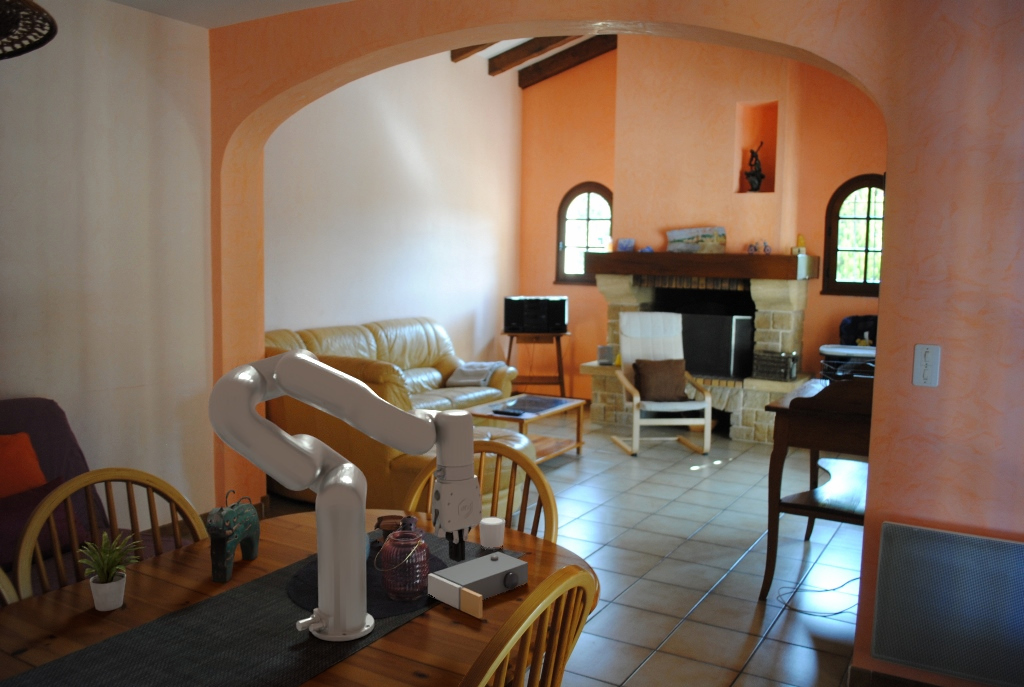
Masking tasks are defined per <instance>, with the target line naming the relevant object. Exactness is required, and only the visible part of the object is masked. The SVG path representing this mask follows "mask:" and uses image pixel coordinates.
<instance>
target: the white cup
mask: <svg viewBox="0 0 1024 687" xmlns="http://www.w3.org/2000/svg"><path fill="white" fill-rule="evenodd" d="M478 527H479V528H478V529H479V538H480V540H479V541H480V546H481V545H482V546H484V547H487V548H488V547H490V548H493V547H500V546H502V545H503V546H504V538H505V529H506V520H505V518H502V517H500V516H485V517H482V520H481V521H480V522H479V523H478Z"/></svg>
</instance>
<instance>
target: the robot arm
mask: <svg viewBox="0 0 1024 687" xmlns="http://www.w3.org/2000/svg"><path fill="white" fill-rule="evenodd" d="M283 396H289V397H290V398H292V399H295V400H298V401H300V402H302V403H304V404H306V405H309V406H310V407H313V408H315V409H317V410H320V411H321V412H324V413H326V414H328V415H330V416H332V417H335V418H337V419H339V420H341V421H343V422H345V423H346V424H347V425H349V426H350V427H352V428H353V429H355V430H358V431H359V432H361V433H363V434H364V435H366V436H368V437H369V438H371V439H373V440H375V441H377V442H378V443H380V444H383V445H385V446H387V447H389V448H392V449H394V450H396V451H398V452H401V453H403V454H406V455H409V456H422V455H426V454H427V453H428V452H430V451H431V450H432V448H433V447H434V446H436V447H435V448H436V449H435V450H436V453H435V454H436V470H433V473H432V474H433V477H434V478H436V479H435V480H434V484H433V491H432V501H431V523H432V526H433V527H434V528H435V529H434V533H433V536H435V537H437V538H444V539H445V540H446V541H447V542H448V556H449V557H448V558H449V560H452V561H454V562H457V563H460V562H462V561H463V562H464V561H465V560H466V541H467V540H468V538H469V533H470V532H471V530H473V529H474V528H475V527H477V526H479V522H480V521H481V520H482V518H483V505H482V504H483V502H482V494H481V493H482V492H481V486H480V483H479V482H480V481H479V479H478V476H477V475H476V474H475V452H474V451H475V450H474V449H475V448H474V447H475V446H474V416H473V414H472V413H471V412H470V411H468V410H466V409H465V410H464V409H446V410H431V409H423V408H413V409H409V410H407V411H405V410H403V409H402V408H399V407H397V406H395V405H393V404H391V403H390V402H388V401H387V400H385V399H383V398H381V397H380V396H379V395H377V393H375V392H374V391H373V390H372V389H371V388H370V387H369V385H367V384H366V383H364V381H362V380H360V379H358V378H356V377H354V376H351V375H350V374H347V373H345V372H343V371H341V370H339V369H336V368H334V367H332V366H330V365H328V364H326V363H324V362H321V361H320V360H319V358H318V356H317V355H316V354H314V353H313V352H312V351H310V350H307V349H305V348H304V349H303V348H295V349H291V350H289V351H285V352H282V353H280V354H279V353H278V354H276V355H273V356H269V357H266V358H262V359H259V360H256V361H252V362H248V363H245V364H241V365H239V366H236V367H234V368H232V369H231V370H230V371H228V372H226V373H224V374H223V375H222V376H221V377H220V378H219V379H217V381H216V382H215V383H214V385H213V387H212V389H211V392H210V395H209V398H208V406H207V407H208V408H207V410H208V413H207V414H208V418H209V423H210V425H211V428H212V430H213V431H214V433H215V434H216V435H217V437H218V439H220V440H221V441H222V442H223V443H224V444H225V445H227V446H228V447H229V448H230V449H231V450H233V451H235V452H236V453H238V454H239V455H240V456H242V457H243V458H244V459H246V460H247V461H249V462H250V463H251V464H253V465H254V466H255V467H256V468H258V469H259V470H261V471H262V472H263V473H265V474H266V475H268V476H269V477H271V478H272V479H273V480H275V481H276V482H278V483H279V484H280V485H282V486H283V488H286V489H288V490H290V491H296V492H299V491H305V490H306V489H309V490H311V491H313V493H315V494H316V499H315V508H314V509H315V511H314V512H315V523H316V543H317V544H316V545H317V546H316V548H317V549H316V550H317V553H316V554H317V588H318V589H317V593H318V594H317V596H318V599H317V600H318V603H317V604H318V607H316V608H314V609H313V614H311V615H310V616H309V617H307V618H304V619H299V620H296V624H295V626H296V629H297V630H298V632H301V631H304V630H306V629H309V630H308V631H310V632H311V634H312V635H313V636H314V637H316V638H317V639H320V640H323V641H329V642H346V641H352V640H357V639H359V638H362V637H364V636H367V635H368V634H369V633H371V632H372V631H373V629H374V628H375V619H374V618H375V617H373V615H371V614H370V613H368V612H367V610H368V609H367V548H366V547H367V538H366V537H367V536H366V534H367V533H366V504H367V503H366V502H367V491H368V482H367V478H366V476H365V475H364V473H363V471H361V469H360V468H359V467H358V466H356V464H354V463H352V461H349V460H348V459H347V458H346V457H344V456H343V455H342V454H340V453H339V452H337V451H336V450H334V449H333V448H331V446H329V445H327V443H325V442H323V441H321V440H320V439H318V438H317V437H314V436H313V435H309V434H304V433H298V434H294V435H290V434H289V433H287V432H286V431H284V430H283V429H282V428H281V427H279V426H278V425H277V424H276V423H274V422H272V421H270V420H269V419H267V418H266V417H264V416H263V415H262V416H261V414H260V413H258V411H257V409H256V406H257V405H258V404H260V403H264V402H266V401H269V400H273V399H277V398H279V397H283Z"/></svg>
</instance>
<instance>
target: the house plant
mask: <svg viewBox="0 0 1024 687" xmlns="http://www.w3.org/2000/svg"><path fill="white" fill-rule="evenodd" d="M123 532H124V530H122V531H121V532H119V534H118V536H117V537H116V538H115V539H114V541H113V542H112V544H111V540H110V538H109V537H108V532H107V531H104V530H103V532H102V540H101V546H100V547H101V548H99V547H98V546H97V545H96V543H95V544H94V543H91V542H88V541H86V540H84V541H83V542H84V543H85V544H86V545H87V547H88V548H87V547H86V546H83V545H82V546H81V547H82V548H84V550H83V549H78V551H77V553H79V552H82V553H84V554H85V555H86V556H87V557H89V558H90V559H91V560H92V561H91V560H90V559H88V558H83V559H82V558H81V559H79V560H78V561H77V562H78V563H82V564H85V565H88V566H90V567H92V568H86V569H85V571H84V574H83V575H84V578H86V577H88V576H89V575H91V574H96V575H93V576H92V577H90V579H89V584H90V585H89V586H90V589H91V593H92V597H93V601H94V602H93V603H94V607H95V610H97V611H99V612H110V611H114V610H117V609H119V608H121V607H122V606H123V602H124V596H125V588H126V587H125V586H126V581H127V580H126V579H127V574H126V565H129V564H132V563H141V562H140V561H138V560H137V559H140V557H141V555H136V556H134V555H129V556H125V555H127V554H129V553H131V552H133V551H136V550H138V549H144V548H146V546H141V547H136V546H138V545H135V544H136V543H139V542H142V541H145V540H137V541H134V542H131V543H129V544H127V543H128V541H129V539H131V537H133V535H135V534H136V532H135V533H132V534H130V535H128V536H126V537H125V538H124V539H123V540H122V541H121V543H120V544H119V545H118V546H117V544H118V543H119V540H120V539H121V536H122V535H123ZM133 544H134V545H133ZM116 546H117V547H116ZM132 547H134V548H132ZM96 548H97V549H96ZM124 556H125V557H124ZM123 557H124V558H123ZM128 559H129V560H128ZM121 570H122V571H123V572H122V571H121ZM120 571H121V572H120Z"/></svg>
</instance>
